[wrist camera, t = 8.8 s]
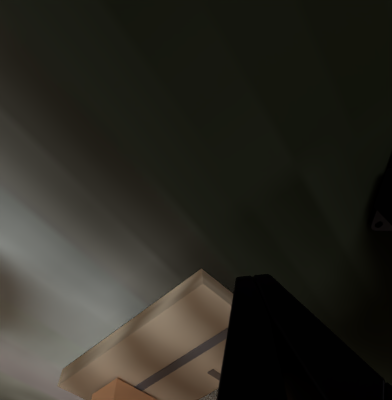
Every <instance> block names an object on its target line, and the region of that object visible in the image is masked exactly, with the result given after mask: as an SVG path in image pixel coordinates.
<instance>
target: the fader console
mask: <svg viewBox="0 0 392 400" xmlns="http://www.w3.org/2000/svg"><path fill="white" fill-rule="evenodd" d="M232 299H233V294H232V293H231V292H230V291H229V290H227V289H226V288H225V287H224V286H223V285H221V284H220V283H219V282H218V281H216V280H215V279H214V278H213V277H211V276H210V275H209V274H208V273H206V272H205V271H204V270H203V269H200V270H199V271H198V272H196V273H195V274H193V275H192V276H191V277H189V278H188V279H186V280H185V281H184V282H182V283H181V284H180V285H178V286H177V287H175V288H174V289H173V290H171V291H170V292H169V293H167V294H166V295H164V296H163V297H162V298H160V299H159V300H157V301H156V302H155V303H153V304H152V305H151V306H149V307H148V308H146V309H145V310H144V311H142V312H141V313H140V314H138V315H137V316H135V317H134V318H133V319H131V320H130V321H128V322H127V323H126V324H124V325H123V326H122V327H120V328H119V329H117V330H116V331H115V332H113V333H112V334H111V335H109V336H108V337H106V338H105V339H104V340H102V341H101V342H99V343H98V344H97V345H95V346H94V347H93V348H91V349H90V350H88V351H87V352H86V353H84V354H83V355H82V356H80V357H79V358H77V359H76V360H75V361H73V362H72V363H70V364H69V365H68V366H66V367H65V368H64V369H63V370H62V373H61V376H60V380H59V383H58V387H60V388H62V389H64V390H66V391H68V392H71V393H73V394H75V395H77V396H79V397H81V398H83V399H85V400H91V399H92V394H94V393H95V392H97V391H98V390H100V389H101V388H103V387H104V386H106V385H107V384H109V383H110V382H112V381H113V380H115V379H116V378H117V379H119V380H121V381H123V382H125V383H127V384H128V385H130V386H132V387H134V388H136V389H138V390H140V391H142V392H144V393H145V394H147V395H149V396H151V397H153V398H155V399H157V400H199V399H200V398H202V397H204V396H206V395H207V394H209V393H211V392H213V391H214V390H216V389H218V386H219V380H220V374H221V367H222V361H223V355H224V349H225V343H226V336H227V330H228V324H229V318H230V312H231V305H232Z"/></svg>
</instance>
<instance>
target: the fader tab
mask: <svg viewBox="0 0 392 400" xmlns="http://www.w3.org/2000/svg"><path fill="white" fill-rule="evenodd" d="M91 400H157V399H155V398H153V397H151V396H149V395H147V394H145V393H144V392H142V391H140V390H138V389H136V388H134V387H132V386H130V385H128V384H127V383H125V382H123V381H121V380H119V379H117V378H116V379H115V380H113V381H112V382H110V383H109V384H107V385H106V386H104V387H103V388H101V389H100V390H98V391H97V392H95V393H94V394H92V399H91Z"/></svg>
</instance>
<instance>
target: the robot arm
mask: <svg viewBox="0 0 392 400" xmlns="http://www.w3.org/2000/svg"><path fill="white" fill-rule="evenodd" d="M377 222H379V223H378V224H376V223H377ZM368 224H369V226H370V227H371V228H372V229H373V230H375V231H392V158H391V161H390V163H389V166H388V169H387V171H386V173H385V175H384V178H383V181H382V184H381V186H380V189H379V192H378V195H377V197H376V200H375V203H374V208H373V210H372V213H371V216H370V219H369V222H368ZM216 400H392V386H391V385H390V384H389V383H385V381H384V379H383V378H382V377H381V376H380V375H379V374H378V373H376V372H375V371H374V370H373V369H372V368H371V367H370V366H369V365H368V364H367V363H366V362H364V361H363V360H362V359H361V358H360V357H359V356H358V355H357V354H356V353H355V352H354V351H352V350H351V349H350V348H349V347H348V346H347V345H346V344H345V343H344V342H343V341H342V340H341V339H339V338H338V337H337V336H336V335H335V334H334V333H333V332H332V331H331V330H330V329H329V328H327V327H326V326H325V325H324V324H323V323H322V322H321V321H320V320H319V319H318V318H317V317H315V316H314V315H313V314H312V313H311V312H310V311H309V310H308V309H307V308H306V307H305V306H304V305H302V304H301V303H300V302H299V301H298V300H297V299H296V298H295V297H294V296H293V295H292V294H290V293H289V292H288V291H287V290H286V289H285V288H284V287H283V286H282V285H281V284H280V283H278V282H277V281H276V280H275V279H274V278H273V277H272V276H271V275H269V274H263V275H255V276H253V277H252V276H243V277H237V278H236V281H235V287H234V293H233V299H232V305H231V312H230V318H229V324H228V330H227V336H226V343H225V349H224V355H223V361H222V367H221V374H220V380H219V386H218V392H217V399H216Z"/></svg>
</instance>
